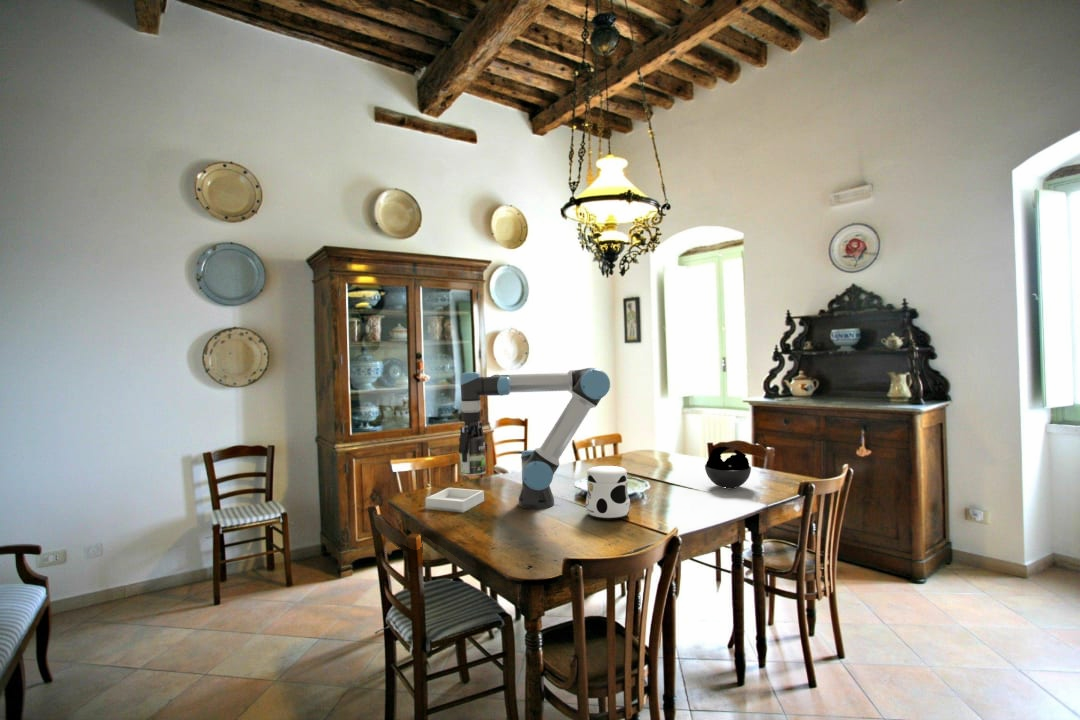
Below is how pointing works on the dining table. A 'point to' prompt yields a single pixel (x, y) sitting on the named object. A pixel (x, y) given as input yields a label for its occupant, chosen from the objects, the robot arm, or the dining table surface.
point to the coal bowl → (727, 468)
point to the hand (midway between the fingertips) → (472, 467)
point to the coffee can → (475, 457)
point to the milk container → (607, 492)
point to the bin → (455, 499)
